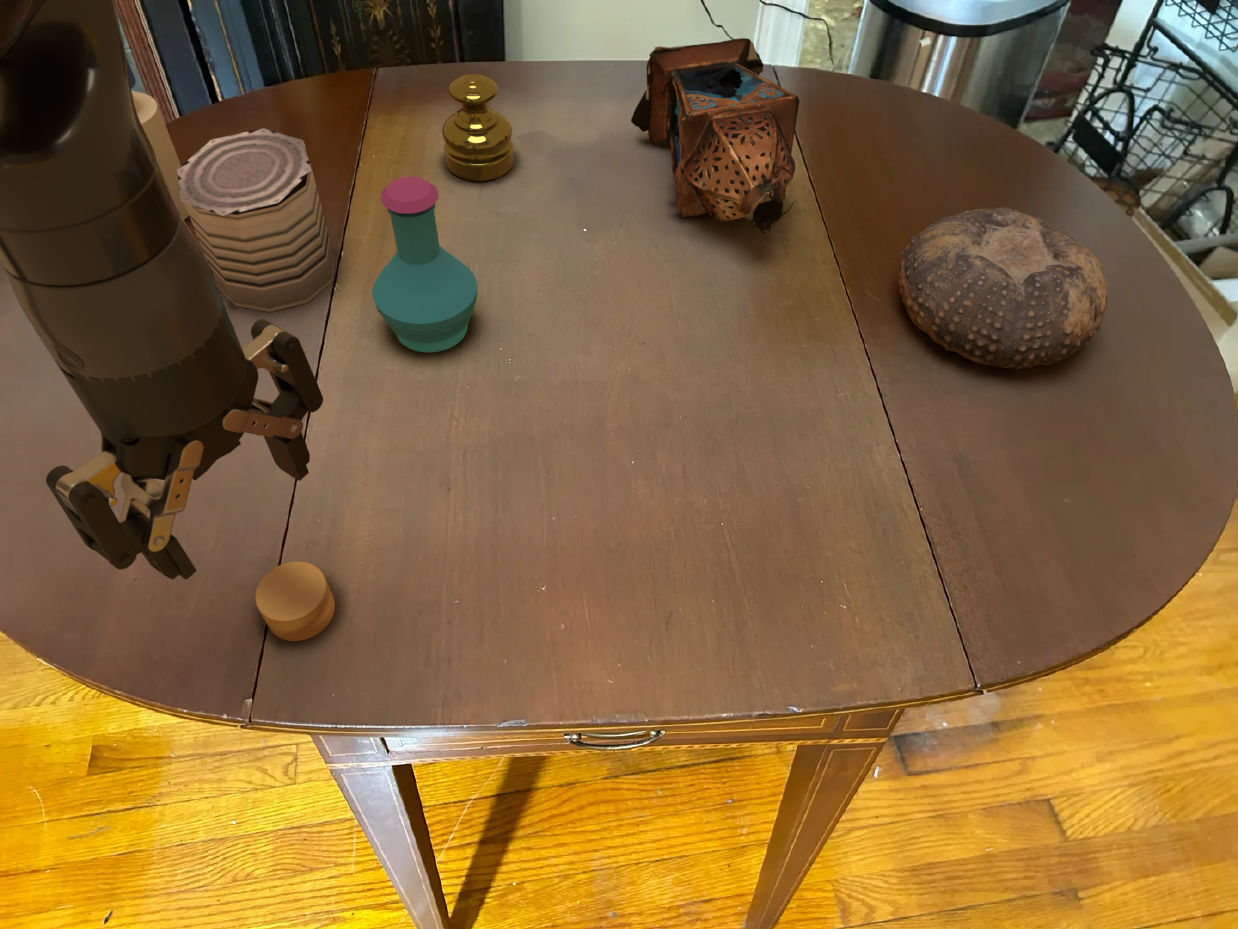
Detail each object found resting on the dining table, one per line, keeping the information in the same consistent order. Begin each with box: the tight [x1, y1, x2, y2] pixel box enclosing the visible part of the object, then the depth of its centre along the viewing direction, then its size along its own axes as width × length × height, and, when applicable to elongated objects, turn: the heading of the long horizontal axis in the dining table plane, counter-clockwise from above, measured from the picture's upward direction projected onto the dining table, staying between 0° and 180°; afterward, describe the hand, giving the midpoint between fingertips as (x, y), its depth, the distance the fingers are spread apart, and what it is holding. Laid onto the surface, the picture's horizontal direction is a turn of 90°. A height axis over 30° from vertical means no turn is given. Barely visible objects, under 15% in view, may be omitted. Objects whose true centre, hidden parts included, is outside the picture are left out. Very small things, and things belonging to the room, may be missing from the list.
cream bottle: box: [126, 57, 189, 221], centre depth 88 cm, size 7×7×16 cm
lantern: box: [630, 37, 801, 234], centre depth 94 cm, size 16×16×25 cm
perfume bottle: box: [371, 176, 478, 353], centre depth 79 cm, size 9×9×15 cm
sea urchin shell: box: [898, 207, 1109, 370], centre depth 85 cm, size 19×19×10 cm
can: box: [177, 127, 336, 313], centre depth 84 cm, size 11×11×12 cm
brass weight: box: [441, 73, 514, 182], centre depth 97 cm, size 7×7×10 cm
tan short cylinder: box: [254, 561, 336, 642], centre depth 65 cm, size 5×5×3 cm
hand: (239, 518), depth 54 cm, fingers open, 8 cm apart
